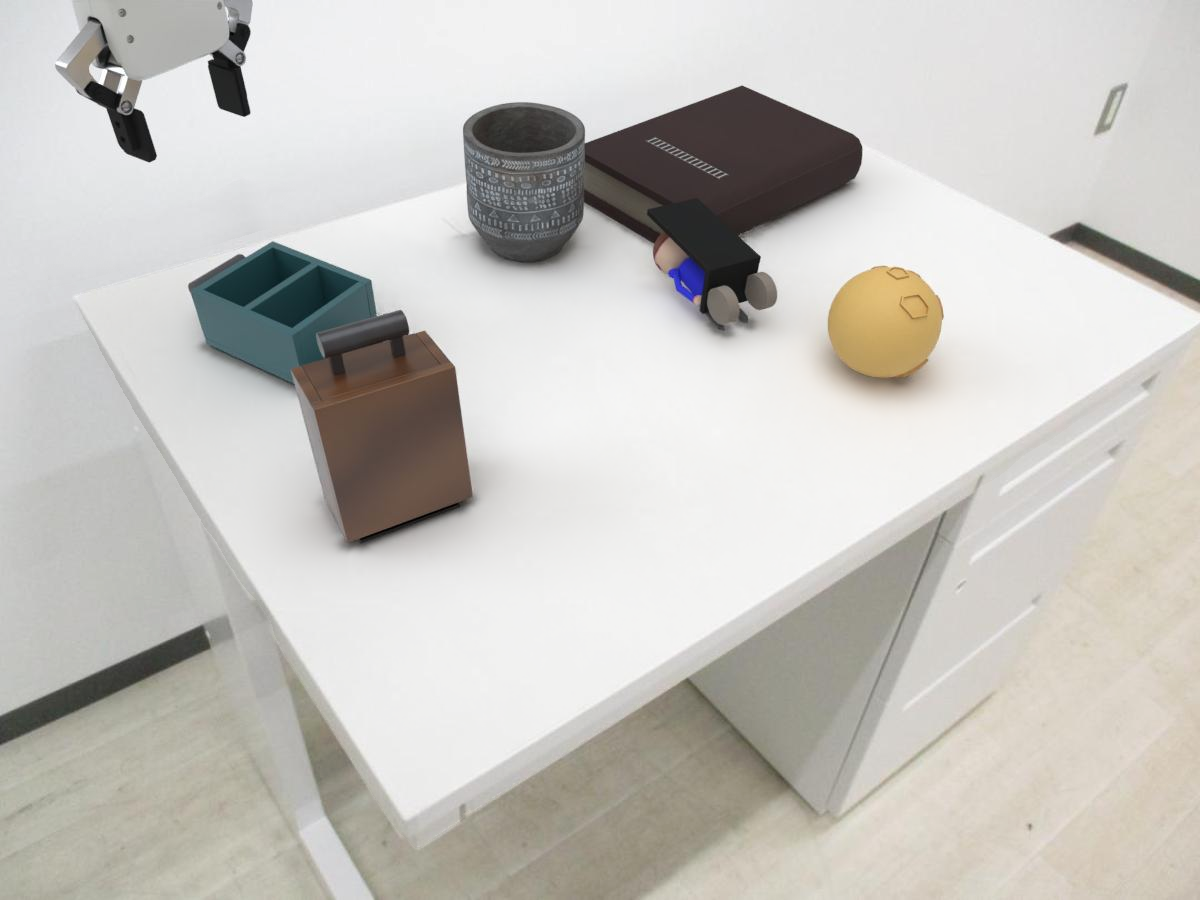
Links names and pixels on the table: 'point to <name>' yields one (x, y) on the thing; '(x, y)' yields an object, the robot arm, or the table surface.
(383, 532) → the charcoal rectangular slab
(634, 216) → the book
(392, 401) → the walnut shelf
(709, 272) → the figurine character
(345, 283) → the teal shelf
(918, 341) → the stress ball
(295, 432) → the table surface
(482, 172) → the planter
